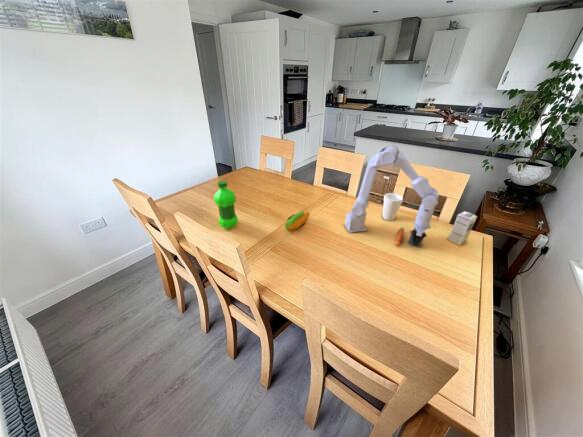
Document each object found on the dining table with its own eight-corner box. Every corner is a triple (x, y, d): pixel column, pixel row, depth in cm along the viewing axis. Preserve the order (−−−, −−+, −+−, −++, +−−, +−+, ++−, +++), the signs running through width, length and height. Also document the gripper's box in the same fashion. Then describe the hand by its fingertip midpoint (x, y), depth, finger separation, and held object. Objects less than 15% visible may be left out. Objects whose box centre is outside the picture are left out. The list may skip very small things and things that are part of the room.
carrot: (399, 229, 122) (400, 225, 121) (404, 230, 121) (405, 226, 120) (393, 246, 110) (395, 241, 109) (399, 247, 109) (401, 243, 108)
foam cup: (398, 222, 128) (404, 201, 121) (380, 220, 129) (385, 199, 122) (395, 214, 135) (401, 193, 129) (378, 212, 137) (383, 192, 130)
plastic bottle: (229, 219, 131) (223, 176, 118) (243, 225, 126) (237, 181, 112) (215, 227, 124) (206, 183, 111) (229, 233, 119) (221, 188, 106)
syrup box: (459, 245, 111) (472, 219, 103) (447, 239, 115) (458, 213, 107) (465, 241, 113) (478, 216, 106) (453, 235, 117) (464, 210, 110)
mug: (422, 248, 108) (427, 237, 105) (406, 244, 112) (409, 232, 108) (423, 242, 113) (427, 231, 109) (407, 238, 116) (411, 227, 112)
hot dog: (281, 218, 116) (303, 203, 130) (280, 231, 121) (302, 215, 134) (293, 224, 113) (314, 208, 127) (292, 236, 117) (313, 219, 131)
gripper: (433, 226, 97) (423, 251, 104) (434, 211, 108) (426, 235, 115) (415, 221, 100) (406, 246, 107) (418, 207, 111) (410, 231, 118)
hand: (415, 240), depth 111 cm, fingers closed on mug, 5 cm apart
